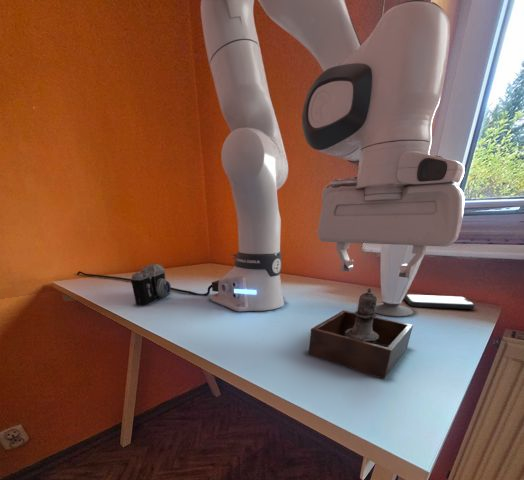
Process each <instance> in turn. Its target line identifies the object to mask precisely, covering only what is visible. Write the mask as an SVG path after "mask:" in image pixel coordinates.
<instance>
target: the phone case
mask: <svg viewBox="0 0 524 480" xmlns="http://www.w3.org/2000/svg"><path fill="white" fill-rule="evenodd" d="M404 300H405V302H406V303H408V305H409V306H411V307H419V308H437V309H438V308H439V309H459V310H460V309H461V310H474V308H475V306H476V304H475V303H474V302H473V301H471V300H469V299H468V298H466V297H464V296H458V295H457V296H455V295H454V296H453V295H432V294H430V295H428V294H406V295H405V296H404Z"/></svg>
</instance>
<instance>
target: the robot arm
mask: <svg viewBox="0 0 524 480" xmlns="http://www.w3.org/2000/svg"><path fill="white" fill-rule="evenodd" d="M257 1H258V3H259V4H260V6H261V7H262V10H263V11H264V12H265V15H267V16H268V18H270V19H271V21H273V22H274V23H275V24H276V25H277V26H278V27H280V28H281V29H282V30H283V31H285V32H286V33H287V34H288V35H290V36H291V37H293V38H294V40H296V41H298V43H300V44H301V45H302V46H303V47H304V48H305V49H306V50H307V51H308V52H309V53H310V54H311V55H312V56H313V58H314V59H315V60H316V62H317V63H318V65H319V66H320V68H321V71H322V73H320V74H319V75H318V76H317V77H316V79H315V80H314V81H313V83H311V86H310V88H309V90H308V92H307V94H306V96H305V99H304V103H303V107H302V113H301V127H302V133H303V137H304V139H305V141H306V143H307V145H308V146H310V148H312V149H314V150H316V151H317V152H318V153H322V154H324V155H328V156H331V157H334V158H337V159H340V160H341V159H342V160H344V161H347V162H349V163H351V164H353V165H355V166H358V167H357V175H356V176H354V177H347V178H343V179H342V178H341V179H340V178H336V179H335V178H334V179H332V180H331V181H330V182H329V183H327V184H326V185H325V187H324V188H323V190H322V194H321V210H320V214H319V219H318V226H317V236H318V238H319V240H320V242H322V243H323V242H324V243H336V249H335V251H336V252H337V254H338V256H339V259H340V261H341V263H340V271H341V272H352V271H353V269H354V262H355V260H354V259H350V256H349V253H348V251H347V250H348V249H350V245H351V244H367V245H369V244H372V245H373V244H375V245H381V244H393V245H413V249H412V254H416V255H415V256H414V257H413V258H412V260H411V261H410V262H409V263H408V264H403V265H401V267H400V271H401V272H400V273H399V277H407V278H410V277H411V276H412V272H413V268H414V265H415V264H416V263H417V262H418V261H419V259H420V258H421V257H422V256H423V255H424V256H425V255H426V251H427V249H428V247H441V248H442V247H445V248H446V247H449V246H451V245H453V244H454V243H455V242H456V241H457V240H458V239H459V237H460V233H461V229H462V224H463V220H464V219H463V218H464V210H465V193H464V191H463V190H462V189H461V188H460V187H459V186H457V185H459V184H460V183H461V182H462V180H463V178H464V175H465V169H466V168H465V166H464V164H462V163H461V162H460V161H457V160H454V159H450V158H446V157H443V156H441V155H431V154H430V151H431V147H432V141H433V136H432V135H433V134H432V133H433V132H432V129H433V128H432V126H433V122H434V121H433V120H434V117H435V114H436V111H437V109H438V108H439V105H440V102H441V98H442V93H443V88H444V83H445V78H446V73H447V67H448V58H449V53H450V42H451V41H450V40H451V21H450V18H449V17H448V14H447V13H446V11H444V8H442V6H440V5H439V4H437V2H434V1H428V0H405V1H402V2H399V3H398V4H396V5H394V6H392V7H391V8H389V9H388V10H387V11H386V12H385V13H384V14H383V15H382V16H381V17H380V19H379V21H378V22H377V23H376V26H375V27H374V29H372V30H373V31H372V32H371V33H370V35H369V36H368V37H367V38H366V39H365V41H364V42H363V43H362V41H361V40H360V37H359V35H358V33H357V32H358V31H357V29H356V27H355V25H354V23H353V20H352V17H351V14H350V12H349V10H348V7H347V4H346V0H257ZM254 5H255V0H201V1H200V19H201V27H202V34H203V41H204V47H205V51H206V57H207V61H208V66H209V70H210V73H211V77H212V81H213V85H214V89H215V92H216V97H217V100H218V105H219V108H220V113H221V115H222V117H223V119H224V121H225V122H226V125H227V127H228V129H229V131H230V133H229V134H228V135H227V136H226V138H225V140H224V141H223V144H222V148H221V153H220V155H221V156H220V157H221V159H220V160H221V165H222V168H223V171H224V173H225V175H226V177H227V179H228V182H229V187H230V191H231V196H232V200H233V205H234V209H235V214H236V222H237V223H236V225H237V247H238V248H237V249H238V251H237V253H235V254H230V255H231V258H230V259H231V260H234V263H233V266H232V267H231V268H230V269H229V270H228V271H227V272H226V273H225V274H223V275H222V276H221V277H220V278H219V279H218V280H214V281H212V282H211V284H210V285H209V286H208V287H207V292H204V293H198V292H195V291H191V290H185V289H180V288H175V287H171V291H175V292H180V293H183V294H184V293H185V294H189V295H194V296H205V297H206V296H209V295H210V293H211V291H212V292H215V294H213V295H211V296H210V301H211V302H214V303H217V304H219V305H221V306H223V307H226V308H228V309H231V310H233V311H235V312H249V311H255V312H261V311H272V310H276V309H279V308H282V307H284V305H285V301H284V296H283V291H282V284H281V282H282V280H281V271H282V256H283V255H282V251H281V236H282V235H281V233H282V232H281V231H282V218H281V214H280V210H279V209H280V208H279V200H278V190H280V189H281V188H282V187H283V186H284V185H285V183H286V181H287V179H288V177H289V162H288V157H287V154H286V150H285V146H284V142H283V137H282V134H281V130H280V127H279V123H278V120H277V115H276V114H275V108H274V106H273V103H272V99H271V95H270V91H269V85H268V81H267V75H266V70H265V64H264V60H263V55H262V51H261V46H260V41H259V36H258V33H257V27H256V23H255V16H254ZM427 246H428V247H427ZM426 248H427V249H426ZM76 274H77V275H78V276H79V275H80V274H82V275H83V276H87V277H97V278H108V279H116V280H123V281H128V282H131V278H127V277H121V276H114V275H113V276H112V275H103V274H93V273H85V272H83V271H81V270H78V271H77V273H76Z"/></svg>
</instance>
